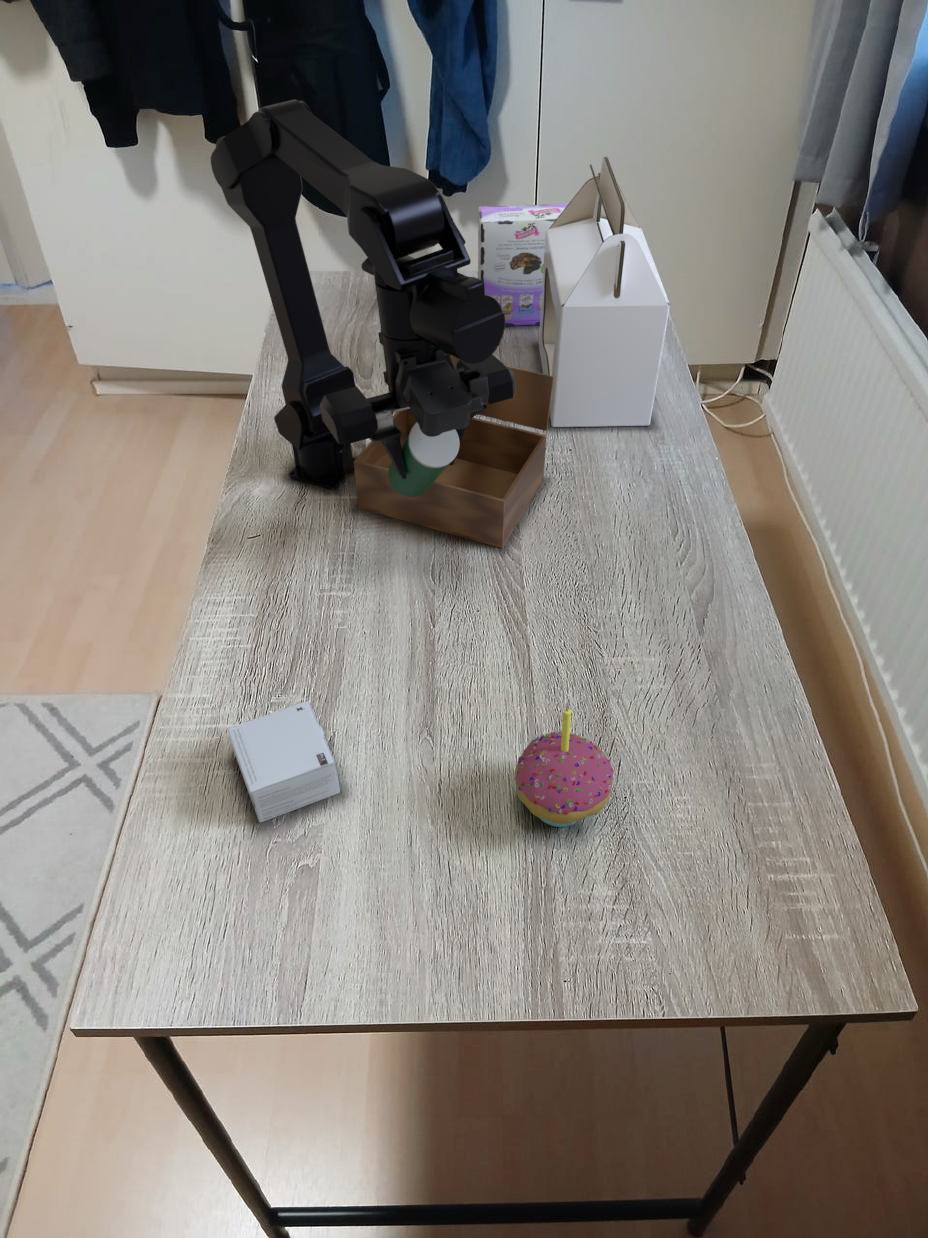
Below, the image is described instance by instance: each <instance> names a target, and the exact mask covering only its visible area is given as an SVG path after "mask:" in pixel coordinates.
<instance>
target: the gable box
mask: <svg viewBox="0 0 928 1238" xmlns="http://www.w3.org/2000/svg"><path fill="white" fill-rule="evenodd" d="M589 167H590V171H591V174H592V177H591V178H589V179H588V180H587V181H585V182H584V184H583V185H582V186H581V187H580V189H579V190H578V191H577V192H576V193H575V195H574V196H573V197H572V199H571V200H570V201H569V202H568V203H567V204H568V205H567V207H566V208H565V209H564V210H563V212H562V213H561V214H560V215H559V217H558V218H557V219H556V220H555V222H554V223H553V224H552V225H551V227H550V228H549V229H547V230H546V235H545V251H544V267H543V282H542V298H541V314H540V325H539V333H538V349H539V350H538V351H539V356H540V362H541V369H542V374H546V375H551V376H554V380H553V388H552V396H551V403H550V411H549V418H550V425H551V427H552V428H592V427H596V428H598V427H648V426H650V425H651V419H652V414H653V408H654V402H655V397H656V391H657V385H658V379H659V374H660V373H659V372H660V368H661V361H662V356H663V351H664V344H665V338H666V332H667V331H666V330H667V325H668V321H669V320H668V319H669V314H670V308H671V303H670V301H669V298H668V295H667V293H666V290H665V287H664V285H663V282H662V280H661V276H660V274H659V271H658V269H657V266H656V264H655V261H654V258H653V255H652V252H651V249H650V248H649V245H648V242H647V239H646V236H645V234H644V232H643V228H641V227H640V225H639V224H638V222H637V220H636V217H635V215H634V214H633V211H632V208H630V206H629V203H628V202H627V199H626V197H625V196H624V193H623V191H622V190H621V187H620V185H619V183H618V182H617V178H616V177H615V174H614V171H613V168H612V166H611V162H610V160H609V157H608V156H603V157H602V160H601V168H600V172H597V176H596V173H595V170H594V168H593V165H592V164H589Z"/></svg>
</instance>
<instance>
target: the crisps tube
mask: <svg viewBox="0 0 928 1238" xmlns="http://www.w3.org/2000/svg"><path fill="white" fill-rule="evenodd" d="M459 446H460V442H459V436H458V434H457V431H456V430H455V429H454V430H451V431H447V432H444V433H441V434H440V435H438V436H435V437H429V436H426V435H424V434H423V433H422V431H421V430H420V427H419V424H418V422H417V423H415V425H414V426H413V427H412V429H411V431H410V433H409V435H408V436H407V438H406V440H405V441H404V443H403V444H402V446H401V447H402V452H403V456H404V461H405V465H406V479H402V478H401V476H400V475H399V473H398V471H397V469H396V468H395V466H394V464H393V462H391V464H390V467H389V471H388V477H389V481H390V483H391V485H392V487H393V488H394V489H395V490H396V491H397V492H398V493H400V494H402V495H404V496H407V497H416V496H420V495H422V494H423V493H425V492H426V491H427V490H428V489H429V488H430V486H431V485H432V484H433V483H434V482H435V480H436V479H437V478H438V477H439V476H440V474H441V473H442V472H443V471H444V470H445V468H446V467H447V466H448V465H449V464H450V463H451V462H452V461H453V460H454V458H455V457H456V456H457V453H458V451H459Z"/></svg>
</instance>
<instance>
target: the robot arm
mask: <svg viewBox="0 0 928 1238" xmlns="http://www.w3.org/2000/svg"><path fill="white" fill-rule="evenodd" d="M210 166H211V171H212V174H213V176H214V180H215V181H216V183H217V184H218V186H219V187H220V188H221V191H222V193H223V196H224V198H225V201H226V205H228V207H229V208H230V209H232V211H233V212H234V213H235V214H236V215H237V216H238V217H239V218H240V219H241V220H242V221H243V222H244V223H245V224H246V225H247V226H248V227H249V229H250V232H251V236H252V239H253V242H254V245H255V249H256V252H257V255H258V258H259V262H260V266H261V269H262V270H261V271H262V273H263V276H264V280H265V283H266V287H267V291H268V294H269V298H270V301H271V305H272V307H273V312H274V315H275V319H276V322H277V325H278V329H279V332H280V335H281V340H282V342H283V346H284V350H285V353H286V357H287V364H286V367H285V371H284V375H283V378H282V383H281V390H282V394H283V395H282V396H283V398H284V403H285V405H284V406H283V407H282V408H281V409H280V410H279V411H278V412H277V413H276V414H275V415H274V416H273V419H274V423H275V425H276V428H277V432H278V434H279V435H280V436H282V438H284V439H285V441H287V442H289V443H290V444H291V447H292V452H293V461H294V464H295V466H294V467H293V468H292V470H290V472H289V473H288V475H289V476H288V477H289V479H291V480H295V481H299V482H302V483H306V484H309V485H313V486H317V487H320V488H324V489H327V490H335V489H336V488H337V487H338V486H339V484H340V483H341V482H342V481H343V480H344V479H345V478H346V477H347V475H348V474H349V473H350V472H351V471H352V470H353V469H354V461H355V459H356V458H357V457H353V451H352V450H353V449H352V444H354V443H358V442H361V441H366V440H370V442H371V441H373V442H380V441H381V442H382V444H383V446H384V448H385V449H386V451H387V453H388V455H389V457H390V458H391V460H392V462H393V464H394V466H395V468H396V469H397V471H398V473H399V475H400V476H401V478H402V479H406V465H405V461H404V456H403V452H402V447H401V443H400V437H401V434H402V433H401V431H400V430H399V429H398V428H397V426H396V425H395V424H394V423H393V415H394V414H395V413H396V412H399V411H403V410H406V409H410V410H411V411H412V413H413V415H414V417H415V419H416V421H417V422H418V424H419V427H420V430H421V431H422V433H423V434H424V435H426V436H429V437H435V436H438V435H440V434H441V433H444V432H447V431H451V430H454V429H455V430H456V431H457V434H458V436H459V442H460V443H461V440H462V437H463V434H464V431H465V429H466V427H467V426H468V425H469V422H470V419H472V418H475V417H476V416H477V415H478V414H479V413H482V412H484V411H485V410H486V407H487V406H486V405H485V404H487V403H489V404H493V403H497V402H500V401H504V400H507V399H511V398H513V397H514V396H515V394H516V387H515V377H514V375H513V372H512V371H511V370H510V369H509V368H508V367H507V366H508V365H506V364H505V363H504V362H502V361H501V360H500V359H499V358H498V357H497V356H496V355H494V353H495V351H496V350H497V349H498V347H499V346H500V344H501V341H502V339H503V337H504V332H505V330H506V329H505V327H506V326H505V315H504V313H503V312H502V309H501V306H500V305H499V303H498V302H497V301H496V300H495V299H494V298H493V297H491V296H488V295H486V294H485V288H484V282H483V280H480V279H478V277H475V276H468V275H465V274H463V273H460V272H458V269H461V268H464V267H466V266H470V265H471V256H470V255H469V253H468V250H467V248H466V246H465V244H466V242H467V241H466V240H465V238H464V236H463V235H462V233H461V231H460V230H459V228H458V226H457V225H456V223H455V221H454V218H453V217H452V215H451V212H450V211H449V208H448V206H447V204H446V201H445V199H444V198H443V195H442V194H441V192H440V191H439V189H438V188H437V186H436V185H435V184H434V183H433V182H432V181H431V180H430V179H428V178H427V177H426V176H424V175H421V174H419V173H417V172H415V171H412V170H410V169H408V168H404V167H397V166H390V165H383V164H380V163H377V162H375V161H374V160H372V159H371V158H369V157H368V155H366V154H364V153H363V152H362V151H360V150H359V149H358V148H357V147H355V146H354V145H353V144H352V143H350V142H349V141H348V140H346V139H345V138H344V137H342V136H341V135H340V134H339V133H337V132H336V131H335V130H333V128H331V127H329V126H328V125H327V124H326V123H325V122H323V121H322V120H321V119H319V118H318V117H317V116H315V115H314V113H313V111H312V110H311V108H310V106H309V104H307V102H306V101H303V100H298V99H295V98H294V99H291V100H286V101H282V102H277V103H274V104H269V105H265V106H262V107H259V108H258V110H257V111H255V112H253V113H252V114H251V116H250V117H249V119H248V120H247V121H245V122H244V123H243V124H241V125H240V126H238V127H237V128H235V129H234V130H232V131H230V133H227V135H224V136H220V137H219V138H217V140H216V143H215V149H214V150H213V151H212V152H211V155H210ZM302 178H303V179H304V180H305V181H306V182H307V183H309V184H310V185H311V186H312V187H314V189H315V190H317V192H319V193H320V194H322V195H323V196H324V197H325V198H326V199H328V200H329V201H330V202H332V203H333V204H334V205H335V206H336V207H338V209H340V211H341V212H342V213H343V214H344V215H345V216H346V220H347V221H346V222H347V228H348V235H349V237H351V239H353V241H354V242H355V243H356V244H357V245H358V246H359V248H360V249H361V250H362V252H363V253H364V254H365V256H366V257H367V258H366V259H364V261H363V262H362V263H361V269H362V271H363V272H365V273H367V274H370V275H371V276H373V279H374V287H375V295H376V303H377V310H378V311H377V312H378V318H379V325H380V331H379V332H377V335H378V342H379V344H380V345H381V346H382V349H383V357H384V365H385V371H383V381H384V383H385V384H386V385H387V389H388V392H385V393H381V394H378V395H374V396H371V397H366V396H365V394H364V393H363V392H362V391H361V390H360V389H359V387H358V386H357V385H356V382H355V380H356V379H355V375H354V372H353V370H352V369H351V368H350V367H349V366H347V365H344V364H343V363H342V362H341V361H340V360H338V359H337V358H336V356H335V355H334V354H332V352H331V349H330V346H329V342H328V338H327V336H326V335H327V334H326V330H325V326H324V323H323V319H322V315H321V311H320V308H319V307H320V306H319V304H318V300H317V296H316V293H315V289H314V285H313V281H312V277H311V273H310V269H309V265H308V262H307V259H306V254H305V250H304V246H303V243H302V239H301V235H300V233H299V231H300V230H299V228H298V224H297V219H296V218H297V213H298V209H299V205H300V201H301V198H302V193H303V190H304V186H303V179H302ZM436 245H439V247H441V249H439V250H436V251H433V252H430V253H427V254H424V255H421V256H419V257H416V258H415V257H414V256H413V257H412V256H410V255H413V254H415V253H418V252H422V251H424V250H427V249H429V248H433V247H435V246H436ZM450 355H452V356H454V357H456V358H458V359H460V360H459V361H458V362H457V364H456V369H455V367H454V365H453V362H452V360H451V358H450ZM455 458H456V457H455ZM455 458H454V460H453V461H452V462H451V463H450V464H449V465H453V464H454V461H455Z"/></svg>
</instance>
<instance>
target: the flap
mask: <svg viewBox="0 0 928 1238" xmlns="http://www.w3.org/2000/svg"><path fill="white" fill-rule="evenodd" d="M450 358H451V360H452V362H453V365H454V367H455V369H456V364H457V362H458V361H459V360H460V359H458V358H456V357H454V356H452V355H450ZM506 366H507V367H508V368H509V369H510V370H511V371H512V372H513V375H514V377H515V387H516V394H515V396H514V397H513V398H511V399H507V400H504V401H500V402H497V403H493V404H489V403H487V404H485V405H486V406H487V407H486V410H485V411H484V412H482V413H479V414H477V415H478V416H483V417H486V418H491V419H494V420H499V421H503V422H508V423H511V424H515V425H520V426H523V427H528V428H531V429H532V428H533V429H536V430H541V431H544V432H546V431H548V425H549V418H550V412H549V411H550V403H551V396H552V388H553V380H554V376H551V375H546V374H543V372H542V373H541V372H536V371H532V370H528V369H523V368H519V367H515V366H509V365H506Z"/></svg>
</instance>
